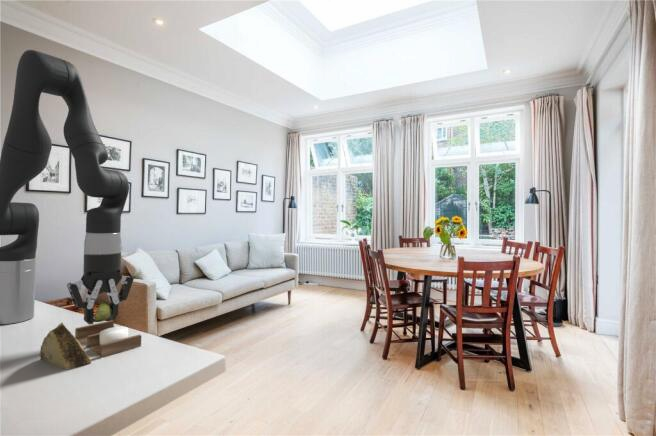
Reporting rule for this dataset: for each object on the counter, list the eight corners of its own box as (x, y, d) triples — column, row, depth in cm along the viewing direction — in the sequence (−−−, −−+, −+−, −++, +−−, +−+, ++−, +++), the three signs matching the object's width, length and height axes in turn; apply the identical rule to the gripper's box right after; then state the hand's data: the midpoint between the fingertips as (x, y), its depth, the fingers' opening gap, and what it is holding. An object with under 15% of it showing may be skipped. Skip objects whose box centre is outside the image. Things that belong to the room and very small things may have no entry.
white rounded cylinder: (93, 348, 75) (93, 333, 75) (116, 339, 81) (116, 325, 81) (111, 353, 74) (111, 337, 73) (134, 343, 79) (134, 328, 79)
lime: (96, 325, 78) (96, 304, 78) (85, 322, 81) (85, 301, 80) (116, 320, 82) (116, 300, 82) (105, 317, 84) (105, 297, 84)
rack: (75, 342, 81) (75, 328, 81) (111, 333, 87) (112, 320, 87) (102, 361, 71) (102, 345, 71) (140, 350, 78) (141, 335, 78)
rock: (22, 354, 69) (21, 365, 61) (55, 315, 73) (58, 322, 65) (74, 374, 74) (79, 387, 66) (103, 338, 78) (110, 346, 70)
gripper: (127, 247, 89) (125, 311, 89) (61, 251, 78) (59, 325, 78) (140, 250, 85) (139, 317, 85) (73, 255, 73) (71, 332, 73)
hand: (101, 320), depth 81 cm, fingers closed on lime, 4 cm apart
